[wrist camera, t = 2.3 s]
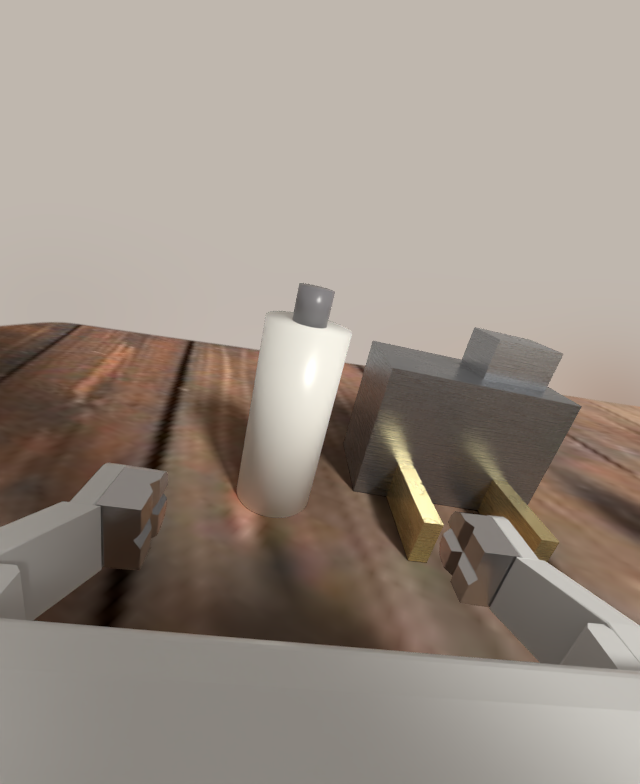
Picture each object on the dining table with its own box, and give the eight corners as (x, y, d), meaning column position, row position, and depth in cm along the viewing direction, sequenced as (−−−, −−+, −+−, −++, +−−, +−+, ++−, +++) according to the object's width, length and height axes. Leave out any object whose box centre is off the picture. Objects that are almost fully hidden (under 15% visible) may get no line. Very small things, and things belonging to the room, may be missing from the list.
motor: (367, 554, 21) (442, 349, 17) (343, 443, 33) (383, 304, 29) (599, 585, 23) (724, 410, 19) (498, 470, 35) (559, 345, 31)
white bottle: (230, 511, 22) (268, 282, 17) (242, 465, 27) (275, 273, 22) (309, 522, 23) (368, 304, 18) (307, 475, 27) (354, 292, 22)
